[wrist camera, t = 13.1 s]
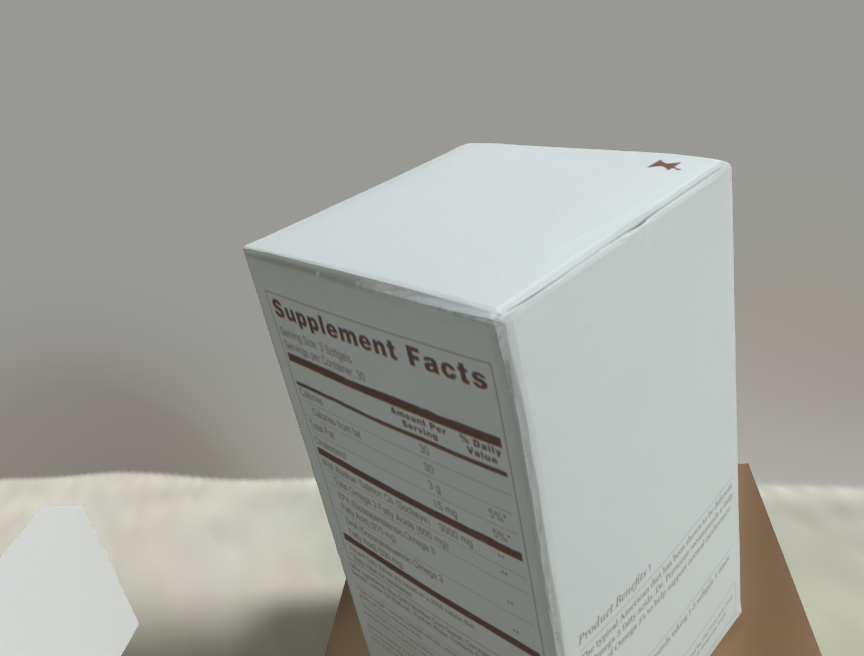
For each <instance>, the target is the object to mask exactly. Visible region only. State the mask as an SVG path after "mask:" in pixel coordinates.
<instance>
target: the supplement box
mask: <svg viewBox="0 0 864 656" xmlns="http://www.w3.org/2000/svg"><path fill="white" fill-rule="evenodd" d="M732 215H733V211H732V176H731V166H730V164H729V163H727V162H724V161H721V160H715V159H710V158H702V157H693V156H685V155H676V154H665V153H650V152H631V151H613V150H595V149H577V148H557V147H540V146H539V147H538V146H522V145H509V144H488V143H486V144H485V143H469V144H465V145H462V146H460V147H458V148H456V149H454V150H452V151H450V152H448V153H446V154H444V155H442V156H439V157H438V158H435V159H433V160H431V161H429V162H427V163H425V164H423V165H420V166H419V167H416V168H414V169H412V170H410V171H408V172H406V173H404V174H401V175H399V176H398V177H395V178H393V179H391V180H388V181H386V182H384V183H382V184H380V185H378V186H375V187H373V188H371V189H369V190H367V191H365V192H362V193H360V194H358V195H356V196H354V197H352V198H349V199H347V200H345V201H343V202H341V203H338V204H336V205H334V206H332V207H330V208H328V209H325V210H323V211H321V212H319V213H317V214H315V215H313V216H310V217H309V218H306V219H304V220H302V221H300V222H297V223H295V224H293V225H291V226H289V227H287V228H284V229H282V230H280V231H278V232H275V233H273V234H271V235H269V236H267V237H264V238H262V239H260V240H257V241H255V242H252V243H250V244H248V245H246V246H245V247H244V248H243V250H244V254H245V257H246V259H247V263H248V266H249V269H250V272H251V276H252V279H253V282H254V285H255V288H256V291H257V294H258V297H259V300H260V304H261V307H262V310H263V313H264V317H265V320H266V323H267V326H268V330H269V333H270V336H271V339H272V343H273V346H274V349H275V352H276V356H277V359H278V362H279V365H280V368H281V371H282V373H283V377H284V380H285V384H286V387H287V390H288V393H289V396H290V400H291V403H292V406H293V409H294V412H295V415H296V418H297V421H298V425H299V428H300V431H301V434H302V437H303V440H304V443H305V446H306V449H307V452H308V455H309V459H310V462H311V466H312V469H313V473H314V476H315V479H316V482H317V485H318V488H319V491H320V495H321V498H322V501H323V504H324V508H325V511H326V515H327V518H328V521H329V525H330V528H331V531H332V534H333V537H334V540H335V544H336V547H337V551H338V554H339V556H340V559H341V563H342V566H343V569H344V573H345V576H346V579H347V582H348V586H349V589H350V592H351V595H352V599H353V602H354V605H355V608H356V612H357V615H358V618H359V621H360V624H361V628H362V631H363V634H364V637H365V641H366V644H367V647H368V650H369V653H370V656H710V655H711V654H712V652H713V651H714V650H715V648H716V647H717V645H718V644H719V643H720V641H721V640H722V639H723V637H724V636H725V634H726V633H727V632H728V630H729V629H730V627H731V626H732V625H733V623H734V622H735V621H736V619H737V618H738V617H739V615H740V614H741V612H742V611H741V604H740V541H739V508H738V463H737V410H736V409H737V408H736V369H735V319H734V267H733V265H734V264H733V216H732Z"/></svg>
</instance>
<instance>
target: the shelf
mask: <svg viewBox="0 0 864 656" xmlns="http://www.w3.org/2000/svg"><path fill="white" fill-rule="evenodd" d="M738 508H739V541H740V604H741V611H742V612H741V614H740V615H739V617H738V618H737V619H736V621H735V622H734V623H733V625H732V626H731V627H730V629H729V630H728V632H727V633H726V634H725V636H724V637H723V639H722V640H721V641H720V643H719V644H718V645H717V647H716V648H715V650H714V651H713V652H712V654H711V655H710V656H822V655H821V653H820V650H819V647H818V645H817V642H816V639H815V637H814V634H813V632H812V629H811V626H810V624H809V621H808V619H807V616H806V613H805V611H804V608H803V606H802V603H801V600H800V598H799V595H798V592H797V590H796V587H795V585H794V582H793V579H792V577H791V574H790V572H789V569H788V566H787V564H786V561H785V559H784V556H783V553H782V551H781V548H780V545H779V543H778V540H777V538H776V535H775V532H774V530H773V527H772V525H771V522H770V519H769V517H768V514H767V512H766V509H765V506H764V504H763V501H762V498H761V496H760V493H759V491H758V488H757V485H756V483H755V480H754V478H753V475H752V472H751V470H750V467H749V465H748V464H738ZM325 656H370V653H369V650H368V647H367V644H366V641H365V637H364V634H363V631H362V628H361V624H360V621H359V618H358V615H357V612H356V608H355V605H354V602H353V599H352V595H351V592H350V589H349V586H348V582H347V579H346V581H345V585H344V588H343V592H342V596H341V599H340V603H339V607H338V610H337V614H336V618H335V621H334V625H333V629H332V632H331V636H330V639H329V643H328V647H327V650H326V654H325Z"/></svg>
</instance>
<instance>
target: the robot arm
mask: <svg viewBox="0 0 864 656" xmlns="http://www.w3.org/2000/svg"><path fill="white" fill-rule="evenodd" d="M138 625H139V622H138V620H137V618H136V616H135V614H134V612H133V610H132V607H131V605H130V603H129V601H128V599H127V597H126V595H125V592H124V590H123V588H122V586H121V584H120V582H119V580H118V578H117V575H116V573H115V571H114V569H113V567H112V565H111V563H110V560H109V558H108V556H107V554H106V552H105V550H104V548H103V545H102V543H101V541H100V539H99V537H98V535H97V533H96V531H95V528H94V526H93V524H92V522H91V520H90V518H89V516H88V513H87V511H86V509H85V507H84V505H83V504H81V505H64V506H47V507H42V508H41V509H40V510H39V511H38V513H37V514H36V515H35V516H34V517H33V519H32V520H31V521H30V522H29V523H28V525H27V526H26V527H25V528H24V529H23V531H22V532H21V533H20V534H19V535H18V536H17V538H16V539H15V540H14V541H13V542H12V544H11V545H10V546H9V547H8V548H7V550H6V551H5V552H4V553H3V554H2V556H1V557H0V656H121V655H122V653H123V651H124V650H125V648H126V646H127V644H128V643H129V641H130V639H131V637H132V636H133V634H134V632H135V630H136V629H137V627H138Z"/></svg>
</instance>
